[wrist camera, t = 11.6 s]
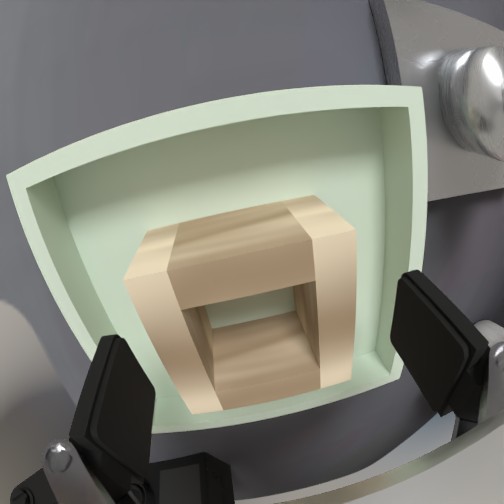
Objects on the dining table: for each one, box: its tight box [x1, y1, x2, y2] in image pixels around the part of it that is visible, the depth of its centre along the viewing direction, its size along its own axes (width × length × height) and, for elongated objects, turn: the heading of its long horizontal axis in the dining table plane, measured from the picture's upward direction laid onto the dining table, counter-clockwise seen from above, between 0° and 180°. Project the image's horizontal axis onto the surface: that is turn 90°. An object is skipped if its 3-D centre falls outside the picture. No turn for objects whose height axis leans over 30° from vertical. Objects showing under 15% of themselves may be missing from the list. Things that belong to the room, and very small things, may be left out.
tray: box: [6, 85, 428, 433], centre depth 13 cm, size 16×16×3 cm
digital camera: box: [130, 452, 235, 504], centre depth 19 cm, size 10×5×7 cm, turn 118°
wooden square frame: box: [123, 195, 357, 415], centre depth 12 cm, size 9×7×4 cm
